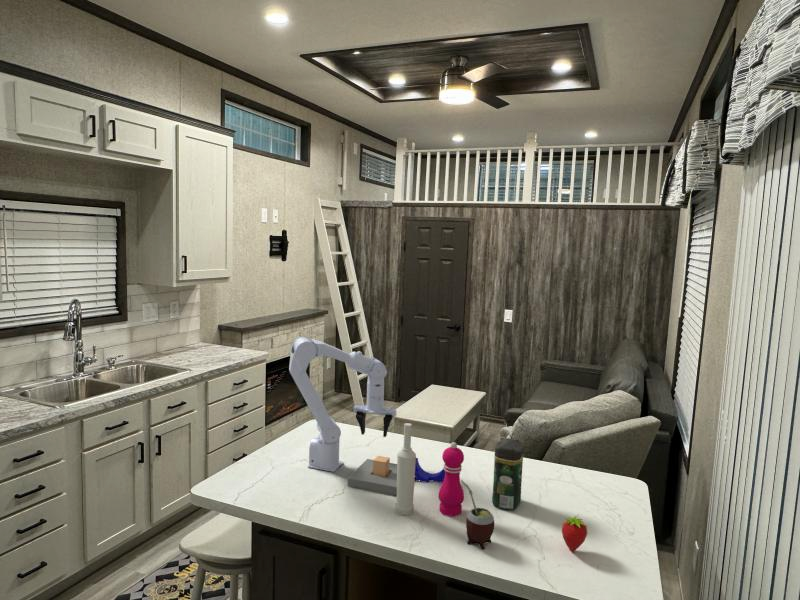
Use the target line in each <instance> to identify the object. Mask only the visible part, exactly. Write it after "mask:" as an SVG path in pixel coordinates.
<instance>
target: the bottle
mask: <svg viewBox="0 0 800 600" xmlns="http://www.w3.org/2000/svg"><path fill="white" fill-rule="evenodd" d="M412 428H413V427H412V423H410V422H409V423H408V422H406V423H404V424H403V446H402V448H401V450H399V451H398V452H397V455H396V457H397V458H396V459H397V462H396V464H397V495H396V503H395V506H394V507H395V511H396V513H397V514H398V515H401V516H410V515H411V514H413V513H414V508H415V505H414V493H415V491H414V490H415V480H416V477H415V463H416V458H417V454H416V452H415V451H414V450H413V448H412V447H411V445H412V444H411V443H412Z"/></svg>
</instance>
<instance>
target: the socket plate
mask: <svg viewBox="0 0 800 600" xmlns="http://www.w3.org/2000/svg"><path fill="white" fill-rule="evenodd" d="M373 460H374V459H369V458H367V459H366V460H365V461H363V463H362V464H360V465H359V466H358V468H356V469H355V470H354V471H353V472H352V473H351V474H350V475H349V476H348V477H347V482H346V483H347V487H351V486H352V487H351V488H356V487H358V488H357V489H362V490H366V489H367V490H368V491H371V490H372V492H376V491H377V493H383V494H387V495H393V496H397V463H393V462H390V464H389V475H388V476H387V477H382V476H377V475H373ZM367 490H366V491H367Z"/></svg>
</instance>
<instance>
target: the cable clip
mask: <svg viewBox="0 0 800 600" xmlns="http://www.w3.org/2000/svg"><path fill="white" fill-rule="evenodd" d="M444 478H445V470H444V467H443V468H442V469H441V470H440V471H438V472H436V473H434V472H432V473H431V472H427V471H425V470H424V469H423V468H422V466H421V464H420V463H419V458H418V457H416V463H415V481H416V480H420V481H419V482H422V481H426V482H425V483H429V481H430V480H433V481H432V482H436V481H438V483H443V482H442V481H444Z"/></svg>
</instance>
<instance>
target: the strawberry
mask: <svg viewBox="0 0 800 600" xmlns="http://www.w3.org/2000/svg"><path fill="white" fill-rule="evenodd" d="M579 515H580V514H579V513H578V514H577V515H575V516H574V517H570V516H567V518H564V520H566V521H564V522H563V524H562V527H561V534H562V539H563V540H564V542H565V545H566V546H567V548H568V550H569V551H570V552H571V553H574V552H575V551H576V550H578V548H579V547H581V545H582V544H583V543H584V542H585V540H586V538H587V536H588V527H587V524H585V523H584V522H583V521H582V520H583V519H582V518H577V517H578V516H579Z"/></svg>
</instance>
